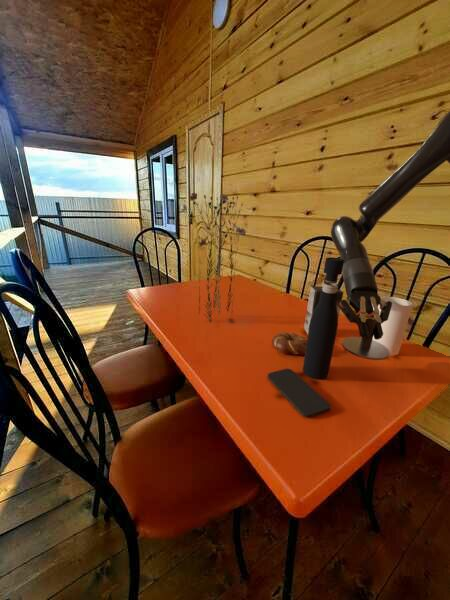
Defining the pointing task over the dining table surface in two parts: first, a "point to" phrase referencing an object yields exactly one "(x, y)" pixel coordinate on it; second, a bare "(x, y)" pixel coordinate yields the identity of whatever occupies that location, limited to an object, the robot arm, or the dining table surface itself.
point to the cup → (395, 324)
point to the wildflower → (240, 231)
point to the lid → (366, 345)
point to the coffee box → (314, 301)
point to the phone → (299, 393)
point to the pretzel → (289, 343)
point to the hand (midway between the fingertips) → (372, 338)
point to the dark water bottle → (323, 324)
